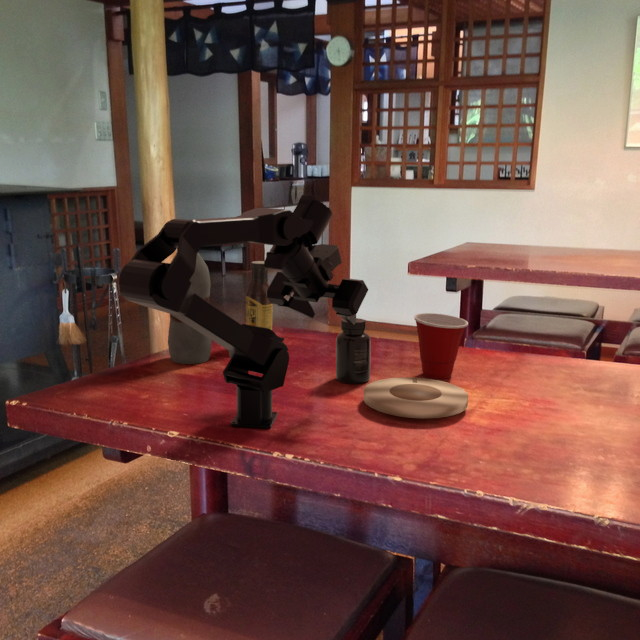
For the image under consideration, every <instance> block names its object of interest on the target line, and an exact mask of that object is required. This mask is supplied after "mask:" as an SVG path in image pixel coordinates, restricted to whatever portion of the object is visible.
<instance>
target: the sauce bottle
mask: <svg viewBox="0 0 640 640" xmlns="http://www.w3.org/2000/svg"><path fill="white" fill-rule="evenodd" d="M264 261H265V260H255V261H251V263H250V264H251V265H250V268H251V279H250V283H249V286H248V289H247V292H246V295H245V324H247V325H252V326H258V327H263V328H268V329H271V330H272V331H273V311H274V309H273V305H274V304H271V302H270V301H269V300H268V298H267V296H266V291H267V289H268V287H269V286H270V284H269V282H268V280H269V276H268V274H269V268H265V267H264Z"/></svg>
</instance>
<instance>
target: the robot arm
mask: <svg viewBox="0 0 640 640" xmlns="http://www.w3.org/2000/svg"><path fill="white" fill-rule="evenodd" d="M332 217H333V212H332V210H331V208H330V207H328V206H327V205H326V204H324V203H323V202H321V201H320V200H317V199H315V198H314V196H313V195H312V194H311V195H310V194H302V195H301V197H300V198H299V200H298V202H297V205H296V206H295V208H294V209H293V211H292V210H290V209H287V208H286V209H285V208H268V207H267V208H265V207H256V208H254V209H250V210H247V211H244V212H242V213H241V214H239V215H237V216H230V217H229V216H228V217H227V216H226V217H214V218H213V217H212V218H196V219H194V218H193V219H186V218H172V219H171V220H168V221H167V222H165V223H164V225H163V227H162V228H161V229H160V231H159V232H158V234H155V236H154V237H152V238H151V239H150V240H149V241H147V242H146V243H145V244H144V245H142V246H141V247H140V248H139V249H137V251H136V252H135V254H134V255H133V257H132V258H131V259H130V261H129V262H127V263H126V264H125V265H124V266H123V268H122V269H121V270H120V274H119V277H118V285H119V293H120V295H121V297H123V298H124V299H125V300H127V301H128V302H132V303H134V304H137V305H140V306H142V307H147V308H150V309H153V310H156V311H159V312H162V313H166V314H169V315H170V314H171V315H172V316H174V317H176V318H177V319H179V320H180V321H182V322H184V323H185V324H187V325H189V326H190V327H192V328H193V329H195V330H197V331H198V332H200V333H201V334H203V335H205V336H206V337H208V338H209V339H211V340H212V342H214V343H216V344H218V345H219V346H221V347H222V348H224V349H226V350H227V351H228V354H229V358H230V359H229V361H228V363H226V366H225V368H224V369H223V371H222V375H223V378H224V381H225V383H226V384H231V385H236V415H235V416H234V417H233V418H232V420H231V422H230V426H231V427H240V428H258V429H270V428H272V426H273V424H274V423H275V421H276V419H277V417H278V412H277V411H273V390H276V389H280V388H282V387H284V384H285V381H286V376H287V372H288V368H289V367H288V366H289V363H290V353H289V352H288V351H289V348H288V346H287V344H286V343H285V342H284V341H285V338H284V337H282V336H281V337H280V336H278V335H277V334H276V332H274V330H273V329H272V330H271V329H268V328H263V327H258V326H252V325H247V324H246V323H239V322H238V321H237V320H235V319H233V317H231V316H229V315H228V314H226V313H225V312H224V311H222V310H221V309H219V308H217V307H216V306H215V305H213V304H212V303H210V301H209V302H208V301H206V300H205V299H203V298H202V297H200V296H199V295H197V294H196V293H195V292H194V289H193V286H192V282H191V281H190V278H191V277H192V275H193V274H194V272H195V267H196V258H197V253H199V251H200V250H201V248H204V247H206V248H207V247H215V246H225V245H234V244H243V243H251V244H257V245H265V246H267V245H268V246H271V248H270V250H269V251H267V252H266V254H265V255H266V257H265V259H264V260H263V261H264V267H265V268H268V270H270V269H271V270H277V272H276V274H275V275H274V277H273V279H272V280H271V282H270V284H269V287H268V289H267V291H266V296H267V298H268V300H269V301H270V302H271V304H273V305H277V306H278V307H281V308H284V309H287V310H290V311H293V312H295V313H297V314H300V315H302V316H305V317H308V318H310V319H314V317H315V315H316V313H315V311H314V309H313V306H312V305H311V303H318V302H319V300H320V299H321V298H327V299H331V300H332V301H331V307H332V309H333V311H335V314H336V316H338V317H340V318H341V319H342V320H343V319H344V320H346V321H347V322H349V323H350V324H352V325H354V324H355V323H356V318H357V313H358V312H359V309H360V307H361V306H362V304H363V301H364V300H365V298H366V295H367V294H368V291H369V288H368V286H367V284H366V282H365V281H364V280H363V279H355V278H354V279H353V278H343V279H341V282H340V284H333V283H329V281H330V282H331V281H332V280H333V277H334V274H333V271H334V270H336V268H337V267H338V266H341V264H342V263H343V260H342V257H341V253H340V249H339V246H338V245H337V244H336V245H334V244H324V243H321V244H318V243H319V241H320V239H321V237H322V235H323V234H324V232H325V230H326V229H327V227H328V225H329V223H330V222H331V219H332ZM175 252H176V253H177V256H176V257H175V259H174V260H173V259H172V260H173V262H172V263H171V262H170V263H171V264H170V263H169V262H168V263H167V262H164V261H165V260H167V259H168V258H169V257H170V256H171V255H172V254H174V253H175ZM310 302H311V303H310ZM249 372H252V373H257V374H261V375H262V376H259V375H255V374H251V373H249Z"/></svg>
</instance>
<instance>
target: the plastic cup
mask: <svg viewBox="0 0 640 640" xmlns="http://www.w3.org/2000/svg"><path fill="white" fill-rule="evenodd" d="M413 317H414V321H415V324H416V328H417V329H416V332H417V336H418V346H419V347H418V348H419V357H420V358H419V359H420V362H421V371H422V375H423V376H424V377H426V378H428V379H434V380H442V379H443V380H444V379H448V378H449V379H450V377H452V374H453V371H454V366H455V362H456V360H457V355H458V351H459V348H460V344H461V341H462V337H463V334H464V333H465V329H466V328H467V327H468V325H469V322H468V321H467V320H466V319H464V318H461V317H457V316H453V315H450V314H443V313H432V312H430V313H429V312H423V313H417V314H414V316H413Z"/></svg>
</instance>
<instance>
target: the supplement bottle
mask: <svg viewBox="0 0 640 640" xmlns="http://www.w3.org/2000/svg"><path fill="white" fill-rule="evenodd" d="M340 322H341V324H340V330H341V332H340V333H338V334H337V336H336V338H335V378H336V380H337V381H339V382H340V383H342V384H348V385H349V384H351V385H354V384H355V385H358V384H363V383H366V382H368V381H370V379H371V355H372V354H371V351H372V350H371V349H372V348H371V347H372V343H371V336H370V335H369V334H368V333H367V332H365V331H366V330H367V321H366V319H363V318H357V317H356V323H355V324H354V325H352V324H350V323H349V322H347V321H346V320H344V319H343V318H342V319H341V321H340Z"/></svg>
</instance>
